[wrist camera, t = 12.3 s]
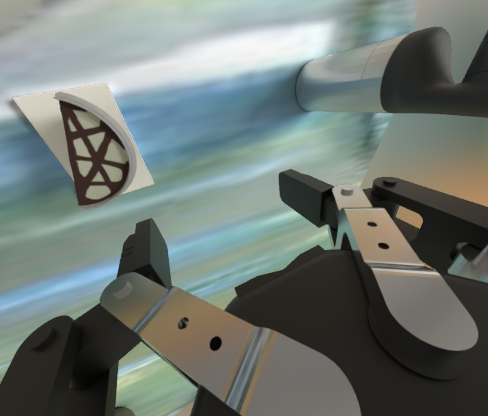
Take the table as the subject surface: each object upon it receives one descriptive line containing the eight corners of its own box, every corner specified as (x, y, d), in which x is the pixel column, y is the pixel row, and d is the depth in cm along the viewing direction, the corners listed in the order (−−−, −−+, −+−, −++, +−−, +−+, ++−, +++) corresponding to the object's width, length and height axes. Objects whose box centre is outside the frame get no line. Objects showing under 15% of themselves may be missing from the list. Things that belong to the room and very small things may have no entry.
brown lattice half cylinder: (139, 186, 32) (138, 212, 24) (94, 185, 29) (76, 214, 21) (136, 106, 27) (133, 106, 19) (81, 95, 24) (51, 89, 16)
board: (107, 84, 25) (106, 83, 24) (153, 181, 33) (154, 184, 32) (17, 97, 22) (11, 97, 21) (92, 201, 30) (90, 204, 30)
